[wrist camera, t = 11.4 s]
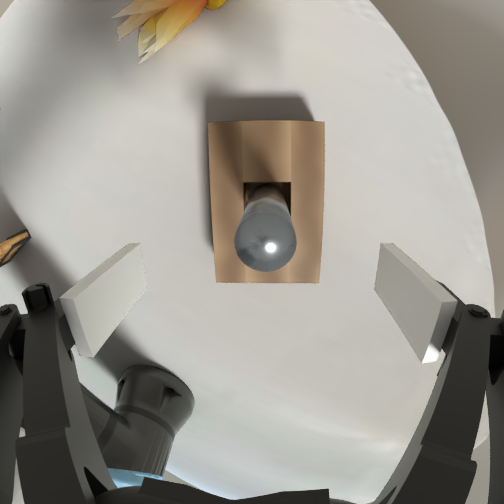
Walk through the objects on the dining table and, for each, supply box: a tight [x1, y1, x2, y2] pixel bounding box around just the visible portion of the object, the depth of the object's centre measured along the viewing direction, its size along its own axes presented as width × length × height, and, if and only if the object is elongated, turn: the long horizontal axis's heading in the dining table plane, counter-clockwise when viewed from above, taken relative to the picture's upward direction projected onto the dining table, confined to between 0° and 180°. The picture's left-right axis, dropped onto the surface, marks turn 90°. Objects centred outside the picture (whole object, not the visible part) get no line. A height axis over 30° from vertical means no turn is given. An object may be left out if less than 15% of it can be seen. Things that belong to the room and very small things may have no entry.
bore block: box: [208, 120, 325, 283], centre depth 33 cm, size 12×18×5 cm, turn 1°
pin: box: [234, 183, 297, 272], centre depth 26 cm, size 4×4×16 cm
